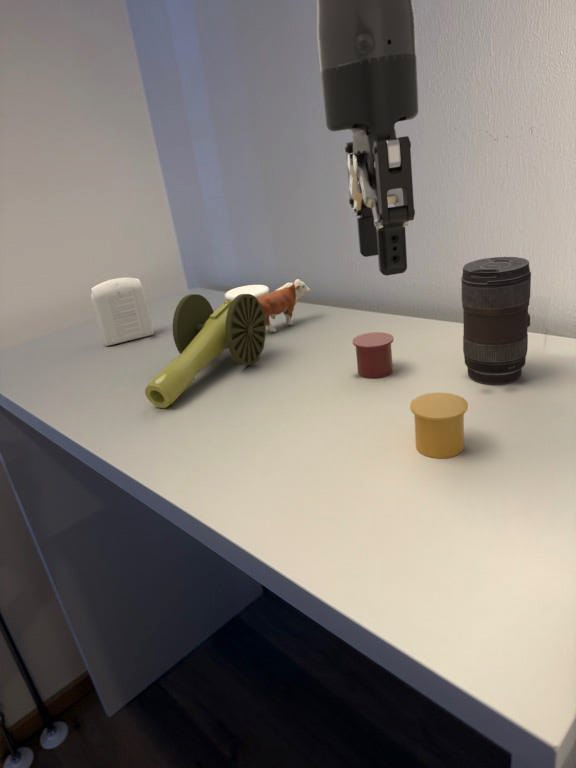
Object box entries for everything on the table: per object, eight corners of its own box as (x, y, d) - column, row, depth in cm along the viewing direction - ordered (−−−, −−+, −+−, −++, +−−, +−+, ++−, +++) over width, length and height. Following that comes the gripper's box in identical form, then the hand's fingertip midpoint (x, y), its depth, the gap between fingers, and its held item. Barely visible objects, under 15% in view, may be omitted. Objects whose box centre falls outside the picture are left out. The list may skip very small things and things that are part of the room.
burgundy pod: (383, 360, 82) (381, 329, 80) (403, 372, 77) (401, 339, 75) (348, 369, 80) (345, 338, 78) (366, 383, 75) (363, 349, 73)
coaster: (253, 313, 115) (251, 297, 113) (218, 311, 120) (215, 295, 119) (279, 299, 122) (277, 284, 121) (245, 298, 128) (242, 283, 126)
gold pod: (446, 427, 62) (445, 387, 60) (479, 450, 57) (479, 407, 54) (401, 441, 60) (399, 401, 58) (431, 466, 55) (430, 423, 53)
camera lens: (473, 360, 78) (473, 255, 72) (533, 366, 73) (539, 255, 67) (453, 382, 72) (451, 271, 66) (517, 391, 67) (521, 272, 61)
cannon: (192, 414, 73) (174, 336, 69) (126, 407, 79) (105, 333, 74) (275, 347, 93) (265, 283, 89) (218, 345, 99) (206, 284, 94)
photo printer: (151, 330, 114) (137, 272, 109) (156, 335, 110) (142, 275, 105) (102, 343, 110) (85, 283, 105) (105, 348, 106) (88, 287, 101)
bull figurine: (316, 318, 105) (312, 277, 102) (258, 338, 99) (251, 295, 96) (303, 315, 109) (298, 275, 106) (246, 334, 103) (239, 292, 99)
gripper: (444, 35, 36) (448, 274, 43) (392, 64, 49) (401, 244, 56) (333, 53, 36) (355, 289, 43) (310, 77, 49) (330, 255, 56)
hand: (381, 263), depth 49 cm, fingers open, 8 cm apart
